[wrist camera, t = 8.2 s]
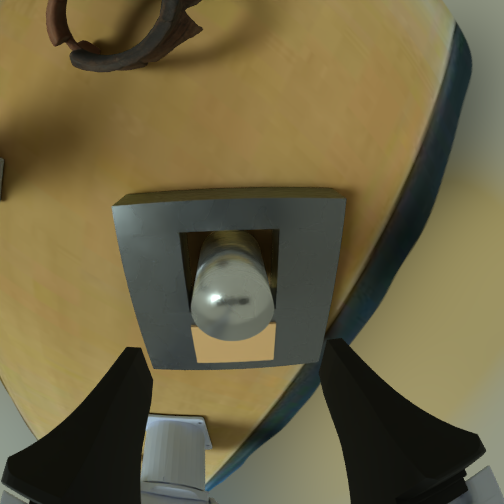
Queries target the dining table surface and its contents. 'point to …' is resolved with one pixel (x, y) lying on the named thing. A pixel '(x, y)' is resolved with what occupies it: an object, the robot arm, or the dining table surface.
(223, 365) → the hole plate
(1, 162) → the vintage mobile phone
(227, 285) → the steel peg
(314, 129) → the dining table surface
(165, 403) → the dining table surface
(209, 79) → the dining table surface
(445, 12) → the dining table surface
